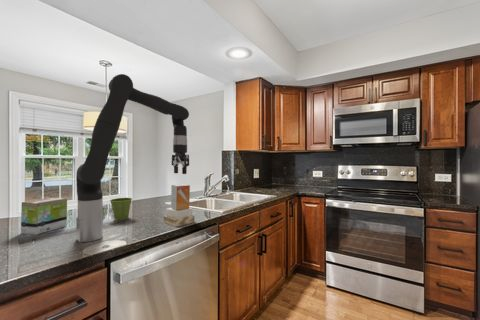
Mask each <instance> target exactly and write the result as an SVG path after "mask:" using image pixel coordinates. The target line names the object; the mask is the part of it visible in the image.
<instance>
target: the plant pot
mask: <svg viewBox="0 0 480 320" xmlns="http://www.w3.org/2000/svg"><path fill="white" fill-rule="evenodd" d="M132 200H133V198H132V197H118V198H117V197H116V198H112V199H110V200H109V202H110V205H111V207H112V212H113V218H114V219H115V221H122V220H127V219H129V215H130V209H131V203H132Z"/></svg>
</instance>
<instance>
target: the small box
mask: <svg viewBox="0 0 480 320" xmlns="http://www.w3.org/2000/svg"><path fill="white" fill-rule="evenodd" d="M170 189H171V192H170V193H171V194H170V195H171V196H170V198H171V199H170V208H172V209H174V210H181V209H189V208H190V194H191V193H190V192H191V185H190V184H186V183H183V184H182V183H181V184H171V188H170Z"/></svg>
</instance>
